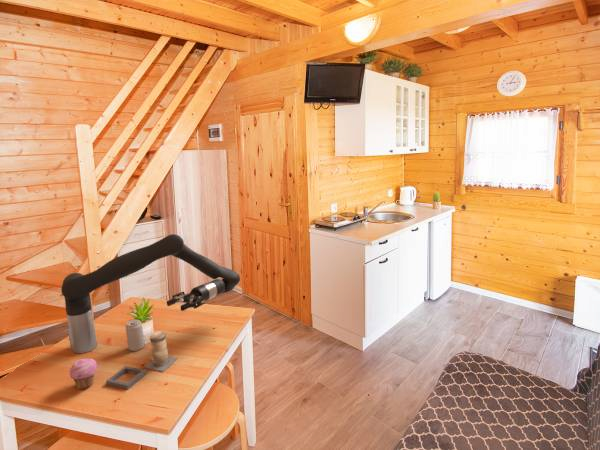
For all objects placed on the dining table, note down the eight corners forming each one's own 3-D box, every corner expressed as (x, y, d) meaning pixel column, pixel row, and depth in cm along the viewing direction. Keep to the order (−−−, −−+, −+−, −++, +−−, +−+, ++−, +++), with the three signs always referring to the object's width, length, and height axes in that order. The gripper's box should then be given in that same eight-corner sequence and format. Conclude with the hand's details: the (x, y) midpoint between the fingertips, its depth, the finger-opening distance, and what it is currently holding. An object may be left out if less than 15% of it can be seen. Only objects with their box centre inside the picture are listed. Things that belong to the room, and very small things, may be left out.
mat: (144, 368, 144) (144, 367, 144) (159, 355, 152) (159, 354, 152) (163, 371, 141) (163, 370, 141) (177, 358, 150) (177, 357, 150)
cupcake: (75, 380, 137) (70, 356, 135) (101, 375, 140) (97, 351, 138) (70, 395, 129) (65, 370, 127) (97, 389, 132) (93, 364, 130)
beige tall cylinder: (150, 365, 145) (146, 337, 142) (160, 357, 151) (156, 330, 148) (162, 367, 143) (158, 340, 141) (172, 359, 149) (168, 332, 146)
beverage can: (129, 353, 155) (125, 327, 152) (128, 346, 160) (124, 321, 158) (145, 349, 157) (142, 323, 155) (144, 342, 163) (140, 317, 160)
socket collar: (106, 384, 135) (106, 380, 134) (126, 369, 143) (125, 365, 143) (128, 389, 132) (127, 385, 131) (146, 373, 141) (146, 369, 140)
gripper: (192, 281, 166) (162, 294, 153) (215, 287, 158) (185, 301, 145) (193, 297, 167) (163, 310, 154) (216, 304, 160) (186, 318, 147)
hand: (174, 306), depth 150 cm, fingers open, 8 cm apart
